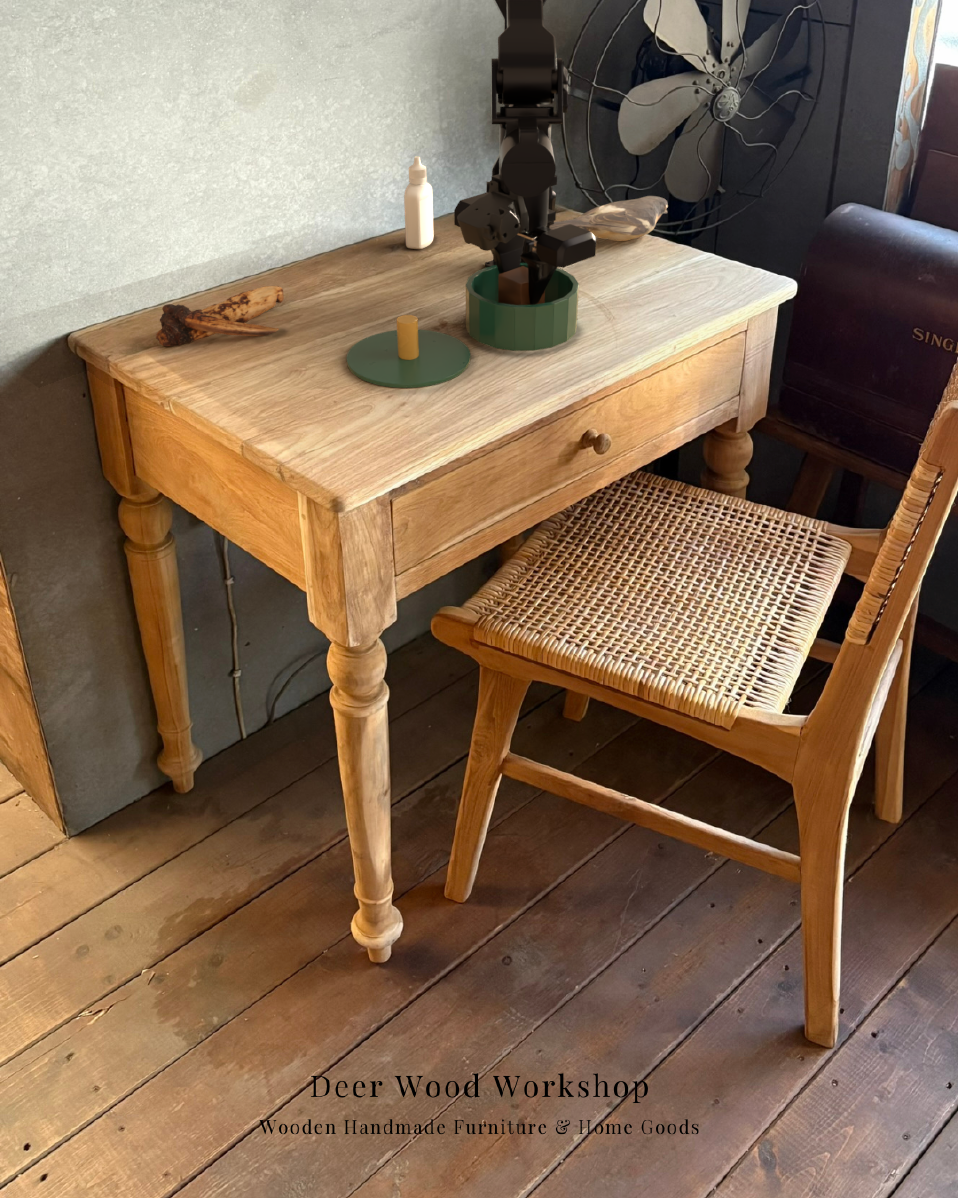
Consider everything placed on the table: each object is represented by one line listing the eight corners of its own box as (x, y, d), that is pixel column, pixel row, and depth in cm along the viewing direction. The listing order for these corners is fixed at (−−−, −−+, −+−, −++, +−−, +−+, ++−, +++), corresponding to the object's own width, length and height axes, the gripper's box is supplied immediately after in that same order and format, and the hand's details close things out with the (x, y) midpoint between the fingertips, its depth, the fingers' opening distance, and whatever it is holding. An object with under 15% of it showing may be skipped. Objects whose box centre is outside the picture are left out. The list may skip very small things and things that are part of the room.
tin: (443, 328, 147) (442, 282, 143) (524, 299, 154) (525, 254, 150) (517, 365, 139) (518, 317, 135) (599, 332, 146) (602, 285, 142)
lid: (322, 361, 140) (318, 316, 136) (418, 327, 147) (416, 283, 144) (398, 405, 131) (396, 358, 128) (496, 366, 138) (496, 321, 135)
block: (498, 305, 144) (498, 274, 142) (522, 296, 146) (522, 265, 144) (520, 316, 142) (521, 284, 140) (544, 306, 144) (545, 275, 142)
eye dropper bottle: (444, 242, 170) (443, 156, 162) (414, 252, 167) (411, 164, 159) (425, 233, 172) (422, 148, 165) (394, 243, 169) (391, 157, 162)
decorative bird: (684, 232, 173) (688, 197, 170) (553, 271, 161) (554, 234, 158) (654, 219, 177) (657, 185, 174) (523, 256, 165) (524, 221, 162)
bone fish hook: (190, 371, 139) (313, 322, 148) (184, 334, 136) (310, 287, 145) (147, 343, 144) (269, 298, 153) (140, 307, 141) (265, 263, 150)
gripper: (416, 162, 136) (421, 292, 145) (528, 204, 124) (525, 342, 134) (490, 142, 141) (489, 269, 151) (603, 181, 130) (595, 315, 140)
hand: (521, 298), depth 144 cm, fingers closed on block, 4 cm apart
